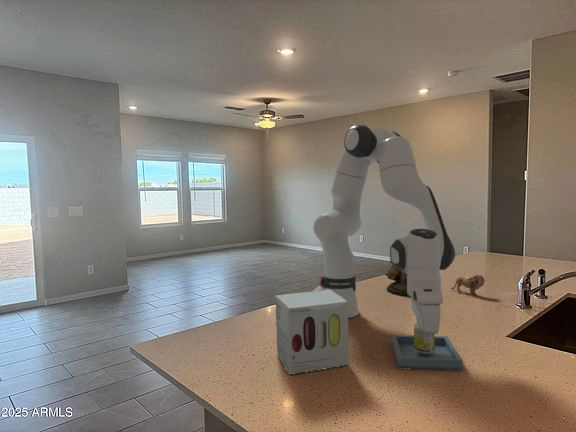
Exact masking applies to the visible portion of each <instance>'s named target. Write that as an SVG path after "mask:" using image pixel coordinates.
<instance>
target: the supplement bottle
mask: <svg viewBox="0 0 576 432" xmlns="http://www.w3.org/2000/svg"><path fill="white" fill-rule="evenodd" d="M415 317H416V319H415V320H416V321H415V323H414V324H413V335H414V349H415V350H416V351H417V352H419V353H423V354H429V353H433V352H434V350H435V339H434V336H435V334H431V337H430V343H424V342H423V337H422V335H423V330H422V328H421V326H420V324H419V322H418V317H417V315H416V316H415Z"/></svg>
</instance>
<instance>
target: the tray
mask: <svg viewBox="0 0 576 432" xmlns="http://www.w3.org/2000/svg"><path fill="white" fill-rule="evenodd" d="M434 339H435V350H434V352H433V353H429V354H423V353H419V352H417V351H416V350H415V349H414V334H413V335H408V334H391V345H392V350H393V352H394V353H395V354H394V353H393V354H394V356H395V361H396V365H397V364H398V365H397V368H398V369H399V368H407V369H406V370H417V369H428V370H427V371H444V370H452V371H451V372H453V370H454V372H463V371H464V361H463V359H462V356H461V355H460V353H459V352H458V351H457V348H456V347H455V346H454V344H453V343H452V342H451V339H450V338H449V337H448V336H447V335H434ZM408 368H410V369H408ZM430 369H432V370H430Z"/></svg>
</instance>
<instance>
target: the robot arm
mask: <svg viewBox="0 0 576 432" xmlns="http://www.w3.org/2000/svg"><path fill="white" fill-rule="evenodd" d="M343 142H344V143H343V144H344V145H343V146H344V148H343V150H342V153H341V154H340V158H339V160H338V163H337V167H336V171H335V174H334V179H333V183H332V186H331V195H332V202H333V203H332V204H333V205H332V209H331V211H326V212H324V213H322V214H321V215H319V216H318V217H317V218H316V219H315V220H314V222H313V233H314V235H315V237H316V238H317V239H318V241H319V242H320V246H321V248H322V252H323V258H324V259H323V260H324V262H323V263H324V274H320V275H319V277H318V279H319V285H318V286H317V287H316V288H315V289H313V290H312V291H318V290H327V289H330V290H331V291H333V292H334V293H336V294H337V295H339V296H340V297H342V298H343V299H345V300H346V301H348V319H350V318H353V317H356V316H359V314H360V309H359V305H358V301H357V294H356V291H357V279H356V278H357V277H356V275H355V255H354V253H353V252H352V251H351V248H350V244H349V239H348V238H350V237H353V235H355V234H356V233H357V232H358V231H359V230H360V229H361V226H362V219H361V215H360V214H361V201H362V200H361V199H362V194H363V191H364V188H365V183H366V179H367V175H368V171H369V167H370V165H371V164H372V163H374V162H376V163H377V164H378V166H379V167H378V168H379V177H380V183H381V186H382V189H383V191H384V192H385V193H386V194H387V196H390V198H392V199H394V200H397V201H399V202H403V203H405V204H408V205H410V206H413V207H415V208H416V209H417V210H418V211H419V212H420V214H421V216H422V220H423V222H424V225H425V228H415V229H411V230H410V231H409V232H408V233H407V235H406V236H404V237H401V238H397V239H396V240H394V242H392V244H391V246H389V247H390V248H389V249H390V250H389V258H390V259H391V263H392V264H393V265H394V266H395V267H396V268H398V269H399V270H407V271H408V275H407V294H408V295H409V296H411V297H410V298H411V310H412V312H413V314H414V316H415V317H416V315H417V317H418V322H419V324H420V326H421V328H422V330H423V335H422V337H423V342H424V343H430V337H431V334H434V335H437V334H438V333H439V331H440V325H441V309H442V308H441V305H442V304H443V302H444V297H443V293H442V276H441V273H440V271H444V270H447V269H448V268H449V267H450V266H451V265H452V264H453V263H454V261H455V259H456V258H455V257H456V249H455V247H454V244H453V243H452V240H451V239H450V236H449V235H448V232H447V229H446V227H445V224H444V221H443V218H442V214H441V212H440V209H439V206H438V203H437V201H436V198H435V195H434V193H433V191H432V189H431V187H430V186H428V185H426V184H425V183H424V181H422V179H421V178H420V175H419V173H418V169H417V165H416V163H417V162H416V159H415V154H414V152H413V149H412V146H411V144H410V142H409V140H408V139H407V138H405V137H403V136H402V135H400V133H397V132H396V131H393V130H392V131H391V130H388V129H385V128H382V127H376V126H369V125H368V126H367V125H365V124H357V125H353V126H352V127H350V128H349V129H348V130H347V132H346V134H345V136H344V140H343ZM390 259H389V260H390Z"/></svg>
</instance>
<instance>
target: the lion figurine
mask: <svg viewBox="0 0 576 432" xmlns="http://www.w3.org/2000/svg"><path fill="white" fill-rule="evenodd" d="M485 283H486V279H484V276H483V275H481V274H476V275H473V276H472V277H469V278H468V279H467V278H465V277H464V276H458V277H457V278H456V281H455V283H454V286H453V287H451V288H450V290H454V289H455V288H456V291H457V293H458V294H461V293H462V292H461V291H460V290H461V289H460V287H464V288H467V289H469V293H470V296H471V297H475V296H477V293H476V290H479V289H480V288H481V287H483V286H484V285H485Z"/></svg>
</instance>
